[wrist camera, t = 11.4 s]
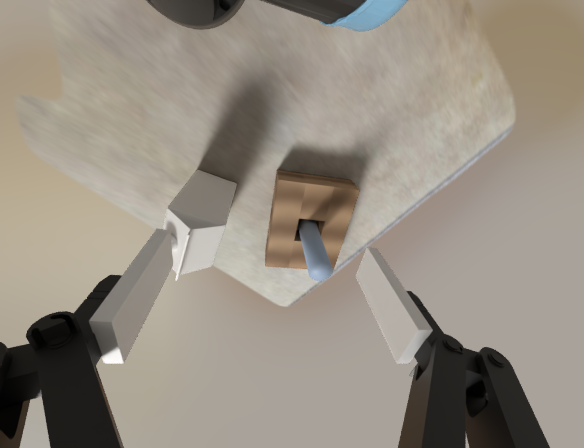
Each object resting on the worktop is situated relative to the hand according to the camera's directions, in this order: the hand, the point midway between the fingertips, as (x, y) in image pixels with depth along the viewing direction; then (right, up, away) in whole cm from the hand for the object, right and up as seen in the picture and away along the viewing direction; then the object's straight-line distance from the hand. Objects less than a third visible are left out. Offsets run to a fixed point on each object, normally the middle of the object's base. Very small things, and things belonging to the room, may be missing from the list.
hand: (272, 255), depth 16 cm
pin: (+4, +3, +31) cm, 31 cm away
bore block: (+4, +3, +32) cm, 32 cm away
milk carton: (-13, +8, +28) cm, 32 cm away
